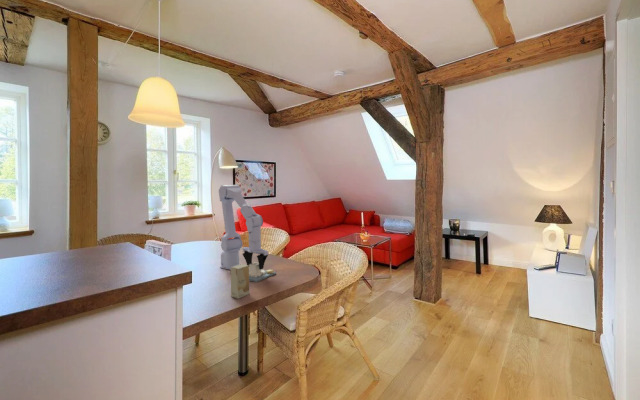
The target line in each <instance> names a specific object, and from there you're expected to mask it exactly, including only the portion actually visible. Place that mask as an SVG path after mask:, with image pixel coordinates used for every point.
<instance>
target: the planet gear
mask: <svg viewBox="0 0 640 400" xmlns="http://www.w3.org/2000/svg"><path fill="white" fill-rule="evenodd" d="M265 270H266V269H262V270H260V269H259V262H255V261H254V262H252V264H249V276H251V277H257V276H261V275H262V274H263V275H264V274H265V273H266V271H265Z"/></svg>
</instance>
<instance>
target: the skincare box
mask: <svg viewBox="0 0 640 400" xmlns="http://www.w3.org/2000/svg"><path fill="white" fill-rule="evenodd" d="M230 295H231V296H230V297H232V298H235V299H240V298H243V297H246V296H248V295H250V281H249V265H247V264H245V263H241V264H240V263H239V265H236V266H233V267H231V270H230Z"/></svg>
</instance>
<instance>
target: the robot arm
mask: <svg viewBox="0 0 640 400" xmlns="http://www.w3.org/2000/svg"><path fill="white" fill-rule="evenodd" d="M218 196H219V201H220V202H221V208H222V214H223V215H222V216H223V222H224V223H223V224H224V230H225V234H223V236H221V240H220V241H221V243H220V247H221V249H222V252H221V254H220V266H219V268H221V269H225V270H230V271H231V267H233V266H236V265H240V251H241V250H242V252H243V253H242V256H243V258H244V260H245V263H246V265H249V264H252V263H253V262H252V261H253V255H254V254H257V255H256V258H257V260H258V261H257V263H259V269H260V270H261V269H262V270H264V267H265V262H266V260H267V258H268V255H269V251H268V249H267V250H266V249H263V248H262V242H261V241H262V240H261V239H262V237H261V235H262V233H261V232H262V231H261V230H262V229H261V227H262V226H263V223H264V219H263V217H262V215H260V214H258V213H256V211H255V210H254V208H253V207H252V206H251V204H249V203H247V201H246V200H245V197H244V196H243V194H242V188H241V187H240V185H239V184H222V185H220V187H219V189H218ZM234 201H235V203H236V204H237V205H238V207H239V208H240V210H239V211H240V213H241V215H242V216H243V219H245V220H246V221H245V226H246V228H247V229H246V230H247V232H248V247H247V246H246V247H243V240H242V238H241V234H239V233H238V232H237V231H236V230H237V229H236V225H235V224H236V222H235V216H234V210H233V209H234V207H233V202H234Z"/></svg>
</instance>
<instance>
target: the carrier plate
mask: <svg viewBox="0 0 640 400" xmlns="http://www.w3.org/2000/svg"><path fill="white" fill-rule="evenodd" d="M261 270H263V269H261ZM264 270H265V271H266V273H265V274H264V275H263V274H262V275H261V276H257V277H251V276H249V282H255V283H258V282H260V281H262V280H264V279H267V278H269V277H271V276H274V275H276V274H277V272H276V271H275V270H274V269H264Z"/></svg>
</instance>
